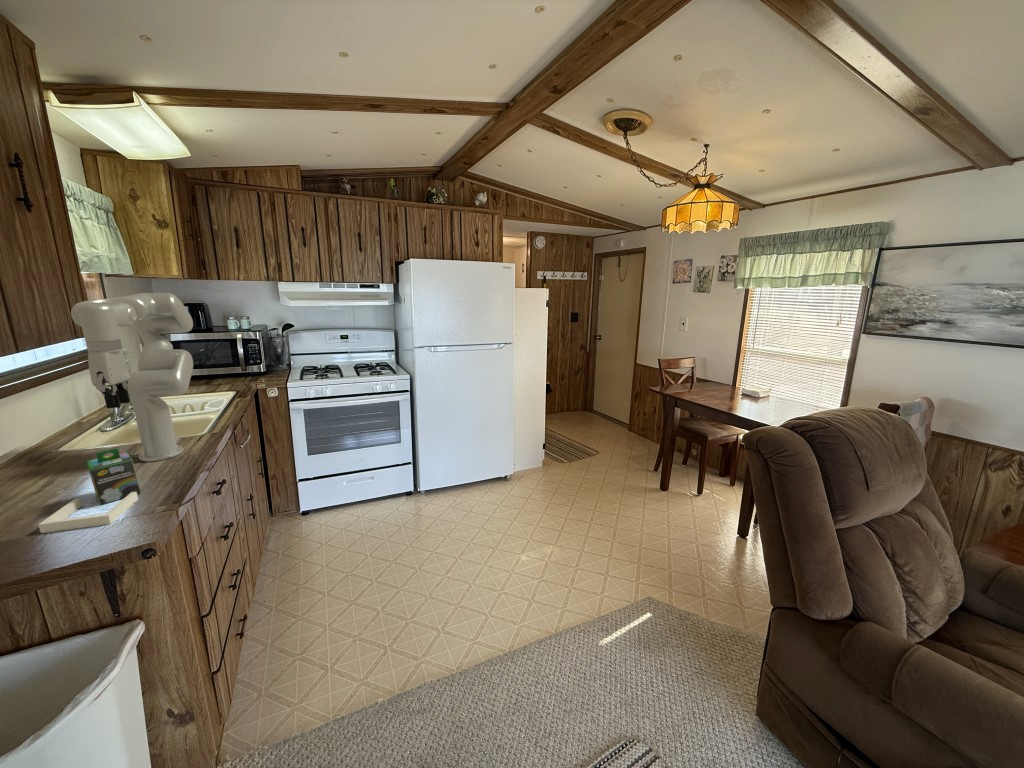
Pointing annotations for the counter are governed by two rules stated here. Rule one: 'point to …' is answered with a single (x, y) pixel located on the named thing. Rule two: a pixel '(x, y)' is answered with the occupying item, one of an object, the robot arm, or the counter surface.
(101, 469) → the chalk box
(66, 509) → the cream u-shaped bracket
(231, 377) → the counter surface
